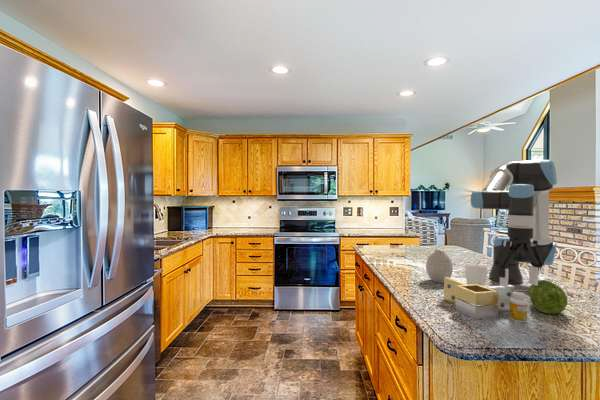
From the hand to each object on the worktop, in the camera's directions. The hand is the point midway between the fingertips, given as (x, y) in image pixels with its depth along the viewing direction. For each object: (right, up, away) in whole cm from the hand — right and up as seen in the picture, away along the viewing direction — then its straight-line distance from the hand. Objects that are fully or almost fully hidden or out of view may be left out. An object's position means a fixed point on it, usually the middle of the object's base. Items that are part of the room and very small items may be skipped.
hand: (518, 285), depth 114 cm
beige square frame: (-13, -12, +12) cm, 22 cm away
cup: (+4, -12, +34) cm, 37 cm away
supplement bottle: (0, -13, 0) cm, 13 cm away
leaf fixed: (-6, -12, +8) cm, 16 cm away
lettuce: (+20, -13, +13) cm, 27 cm away
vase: (-7, -12, +50) cm, 52 cm away
